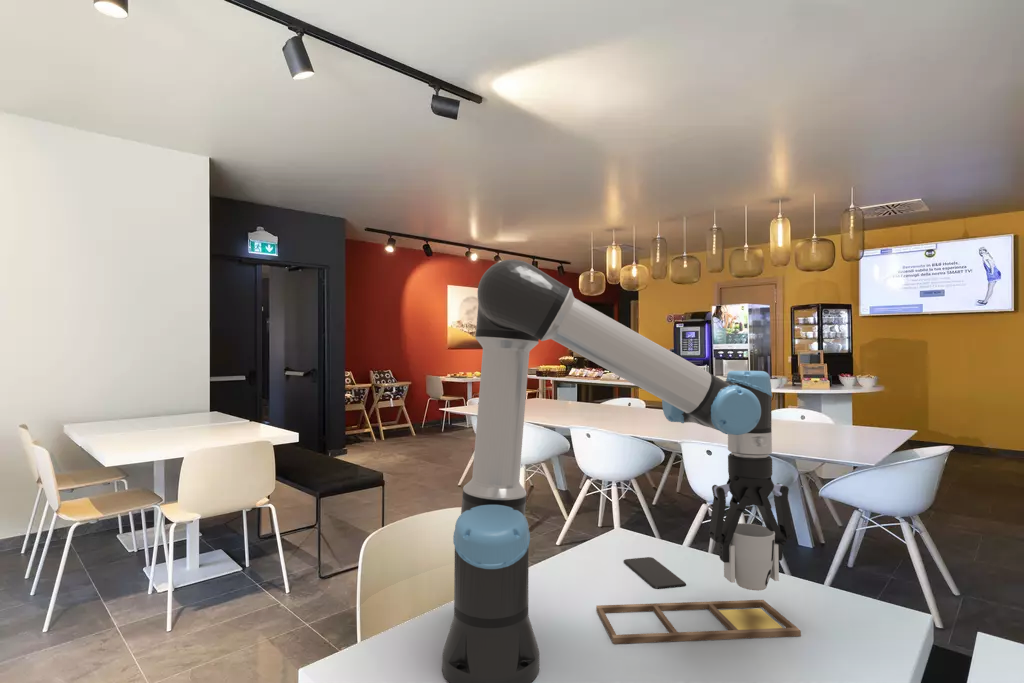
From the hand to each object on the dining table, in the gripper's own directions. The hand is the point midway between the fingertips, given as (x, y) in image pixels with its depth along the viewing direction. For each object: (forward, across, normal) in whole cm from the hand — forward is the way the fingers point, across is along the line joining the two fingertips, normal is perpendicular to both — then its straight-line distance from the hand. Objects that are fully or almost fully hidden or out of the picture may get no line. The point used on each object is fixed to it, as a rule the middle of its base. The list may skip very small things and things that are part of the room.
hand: (751, 578), depth 101 cm
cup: (+1, 0, 0) cm, 1 cm away
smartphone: (+8, -10, +23) cm, 26 cm away
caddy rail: (+8, -11, 0) cm, 13 cm away
